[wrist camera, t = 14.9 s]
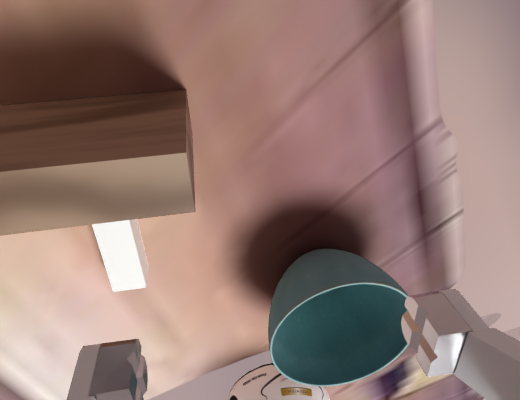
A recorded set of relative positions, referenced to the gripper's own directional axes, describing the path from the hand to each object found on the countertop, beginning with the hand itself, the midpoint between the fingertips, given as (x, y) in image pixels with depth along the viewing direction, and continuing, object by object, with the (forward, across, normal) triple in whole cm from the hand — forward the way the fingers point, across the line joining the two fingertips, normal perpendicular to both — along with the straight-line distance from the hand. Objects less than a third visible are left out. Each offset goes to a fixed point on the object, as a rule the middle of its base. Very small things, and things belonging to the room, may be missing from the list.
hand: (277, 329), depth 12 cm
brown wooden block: (+34, +13, +6) cm, 37 cm away
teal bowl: (+34, -12, +30) cm, 47 cm away
